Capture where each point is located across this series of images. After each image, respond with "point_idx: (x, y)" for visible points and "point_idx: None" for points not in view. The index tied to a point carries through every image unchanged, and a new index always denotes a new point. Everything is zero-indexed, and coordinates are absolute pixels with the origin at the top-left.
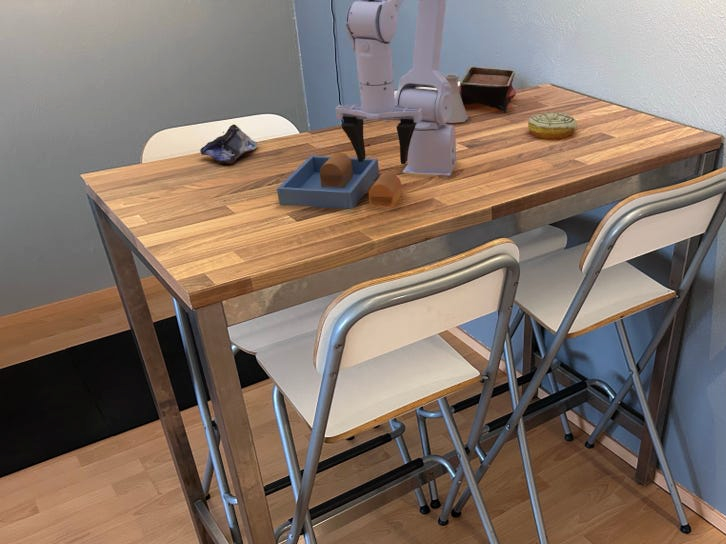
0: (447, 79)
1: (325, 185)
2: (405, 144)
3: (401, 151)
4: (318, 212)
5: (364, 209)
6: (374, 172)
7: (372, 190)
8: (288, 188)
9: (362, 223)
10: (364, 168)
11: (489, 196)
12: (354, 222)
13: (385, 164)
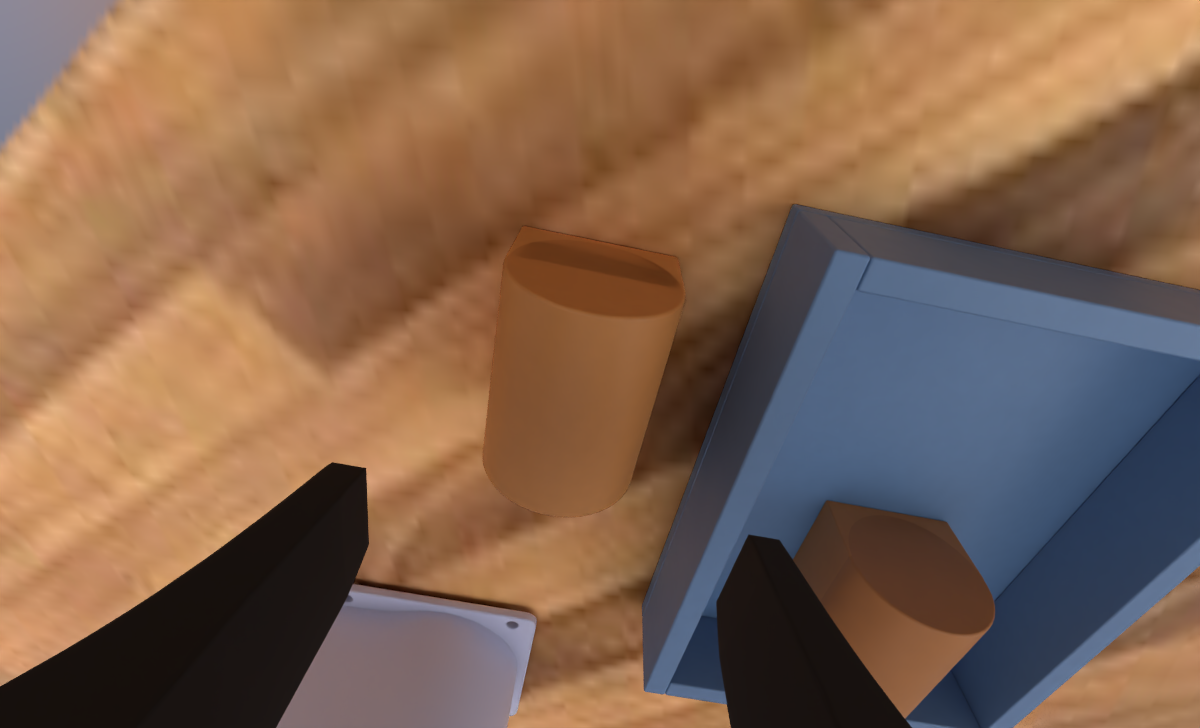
0: None
1: (927, 523)
2: (115, 629)
3: (261, 556)
4: (1028, 214)
5: (714, 244)
6: (660, 603)
7: (656, 302)
8: None
9: None
10: (712, 645)
11: (27, 375)
12: (793, 6)
13: (622, 693)
